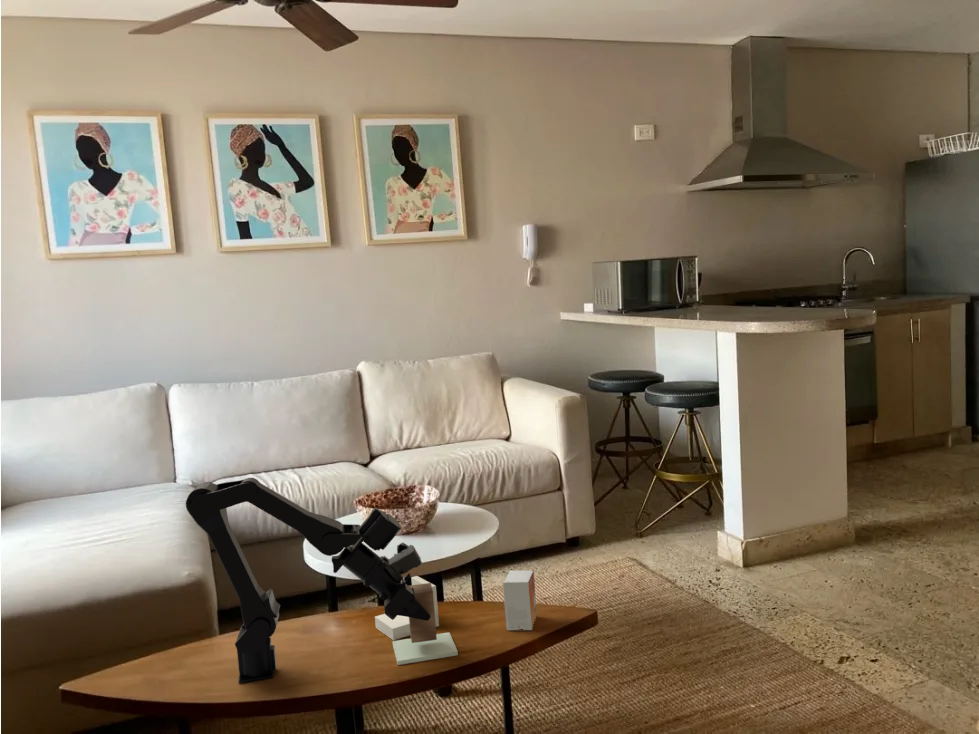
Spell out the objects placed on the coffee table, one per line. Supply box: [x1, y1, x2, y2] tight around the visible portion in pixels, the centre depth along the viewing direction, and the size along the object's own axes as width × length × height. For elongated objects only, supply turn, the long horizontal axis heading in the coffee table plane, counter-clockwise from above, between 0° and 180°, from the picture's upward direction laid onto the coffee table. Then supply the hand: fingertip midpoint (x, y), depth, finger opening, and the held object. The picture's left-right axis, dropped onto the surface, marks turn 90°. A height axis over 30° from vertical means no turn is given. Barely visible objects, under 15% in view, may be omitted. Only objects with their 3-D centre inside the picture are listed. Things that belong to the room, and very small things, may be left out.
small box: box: [502, 569, 538, 631], centre depth 172 cm, size 8×6×10 cm
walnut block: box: [409, 582, 437, 643], centre depth 162 cm, size 5×5×10 cm
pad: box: [392, 632, 459, 666], centre depth 162 cm, size 12×10×1 cm
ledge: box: [374, 575, 440, 641], centre depth 175 cm, size 11×9×9 cm
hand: (428, 613), depth 162 cm, fingers closed on walnut block, 5 cm apart
